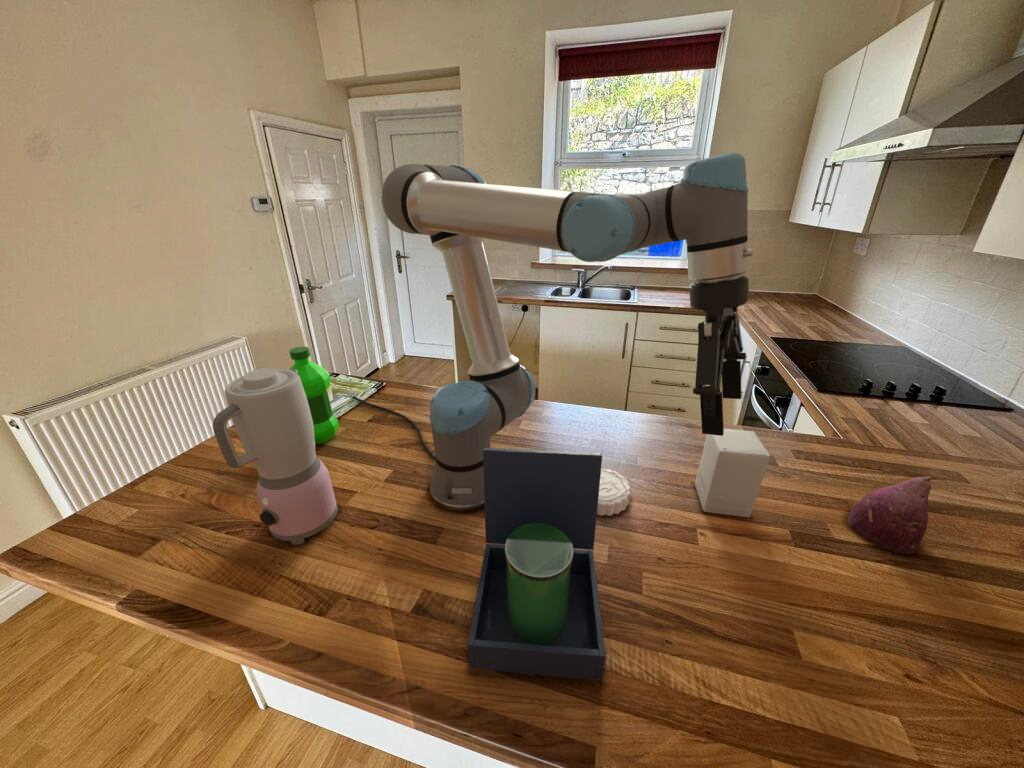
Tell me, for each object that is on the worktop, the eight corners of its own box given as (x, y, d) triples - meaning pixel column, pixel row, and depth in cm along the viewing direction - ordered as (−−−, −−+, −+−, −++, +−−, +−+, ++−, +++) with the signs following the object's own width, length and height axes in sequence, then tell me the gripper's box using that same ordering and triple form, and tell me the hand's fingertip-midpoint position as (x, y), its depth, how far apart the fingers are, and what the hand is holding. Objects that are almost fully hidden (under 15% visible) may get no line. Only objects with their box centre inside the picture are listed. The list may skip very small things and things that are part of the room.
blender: (307, 493, 86) (267, 355, 72) (352, 507, 82) (319, 364, 68) (239, 548, 73) (173, 392, 59) (288, 568, 69) (230, 406, 55)
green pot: (496, 600, 63) (493, 535, 57) (548, 578, 66) (551, 514, 60) (523, 657, 55) (523, 588, 49) (580, 628, 59) (587, 561, 52)
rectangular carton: (751, 519, 79) (772, 456, 72) (702, 512, 81) (719, 451, 74) (737, 488, 87) (755, 430, 80) (693, 483, 89) (708, 425, 82)
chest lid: (602, 455, 58) (601, 452, 59) (483, 450, 60) (483, 447, 61) (593, 550, 65) (592, 546, 65) (485, 543, 66) (486, 539, 67)
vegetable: (891, 532, 80) (942, 472, 74) (922, 568, 70) (984, 503, 65) (834, 509, 82) (880, 449, 76) (857, 541, 73) (911, 476, 67)
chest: (601, 683, 53) (605, 656, 50) (470, 671, 54) (467, 645, 52) (590, 574, 68) (593, 550, 65) (487, 567, 69) (486, 543, 67)
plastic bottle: (291, 441, 105) (265, 352, 94) (328, 423, 112) (308, 339, 101) (313, 454, 99) (288, 361, 88) (350, 434, 107) (331, 347, 96)
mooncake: (631, 520, 79) (634, 506, 77) (570, 512, 81) (571, 498, 79) (626, 480, 90) (628, 467, 88) (572, 475, 91) (573, 462, 90)
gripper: (728, 292, 45) (734, 456, 52) (761, 261, 63) (762, 386, 70) (661, 298, 50) (674, 448, 57) (710, 268, 68) (715, 384, 74)
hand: (723, 414), depth 63 cm, fingers open, 13 cm apart
